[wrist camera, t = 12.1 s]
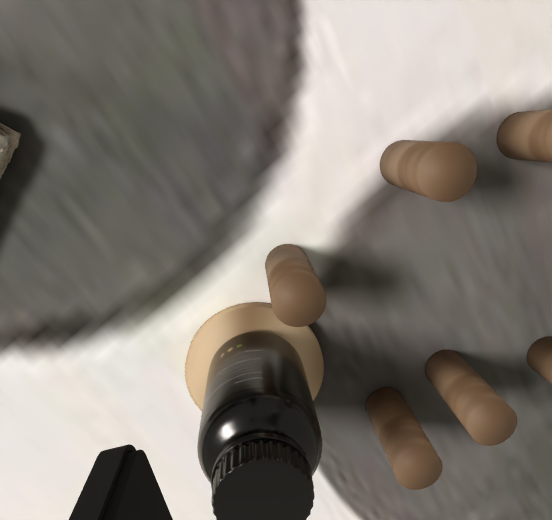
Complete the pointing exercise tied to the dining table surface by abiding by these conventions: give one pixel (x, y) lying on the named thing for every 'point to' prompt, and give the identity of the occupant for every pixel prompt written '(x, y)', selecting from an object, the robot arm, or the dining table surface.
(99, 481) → the robot arm
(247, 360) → the supplement bottle
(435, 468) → the walnut dowels
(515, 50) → the dining table surface
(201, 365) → the cork coaster
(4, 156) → the washcloth
